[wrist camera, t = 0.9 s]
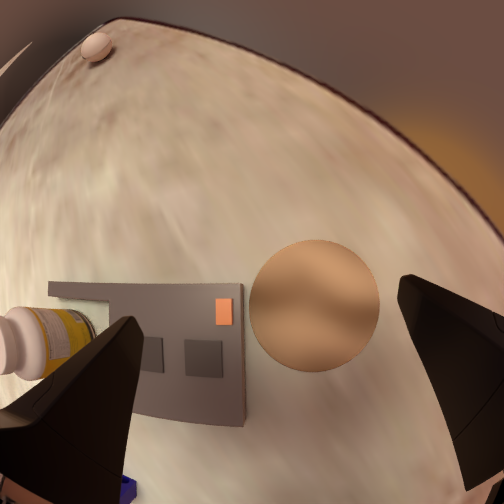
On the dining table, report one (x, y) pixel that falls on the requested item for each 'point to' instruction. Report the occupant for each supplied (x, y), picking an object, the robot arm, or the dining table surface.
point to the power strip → (181, 346)
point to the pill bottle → (40, 340)
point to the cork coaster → (314, 305)
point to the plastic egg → (96, 47)
